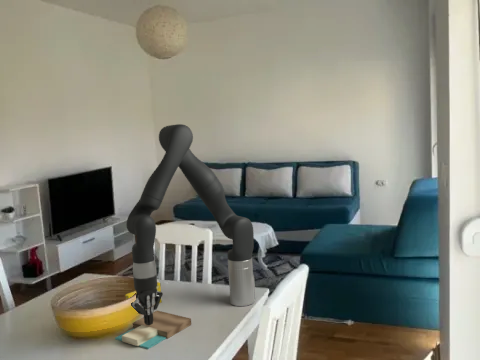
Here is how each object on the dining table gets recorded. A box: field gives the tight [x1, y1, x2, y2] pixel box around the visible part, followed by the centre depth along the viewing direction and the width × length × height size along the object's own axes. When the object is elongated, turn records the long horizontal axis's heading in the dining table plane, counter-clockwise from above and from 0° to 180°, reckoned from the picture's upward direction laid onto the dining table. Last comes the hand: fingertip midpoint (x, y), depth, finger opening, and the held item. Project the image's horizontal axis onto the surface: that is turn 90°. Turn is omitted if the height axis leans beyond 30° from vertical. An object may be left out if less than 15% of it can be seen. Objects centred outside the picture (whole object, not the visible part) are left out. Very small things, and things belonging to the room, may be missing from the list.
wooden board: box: [132, 310, 192, 340], centre depth 165 cm, size 12×16×2 cm
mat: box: [114, 327, 167, 350], centre depth 157 cm, size 8×15×1 cm, turn 56°
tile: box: [121, 325, 158, 347], centre depth 156 cm, size 9×7×2 cm
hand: (149, 324), depth 160 cm, fingers closed
